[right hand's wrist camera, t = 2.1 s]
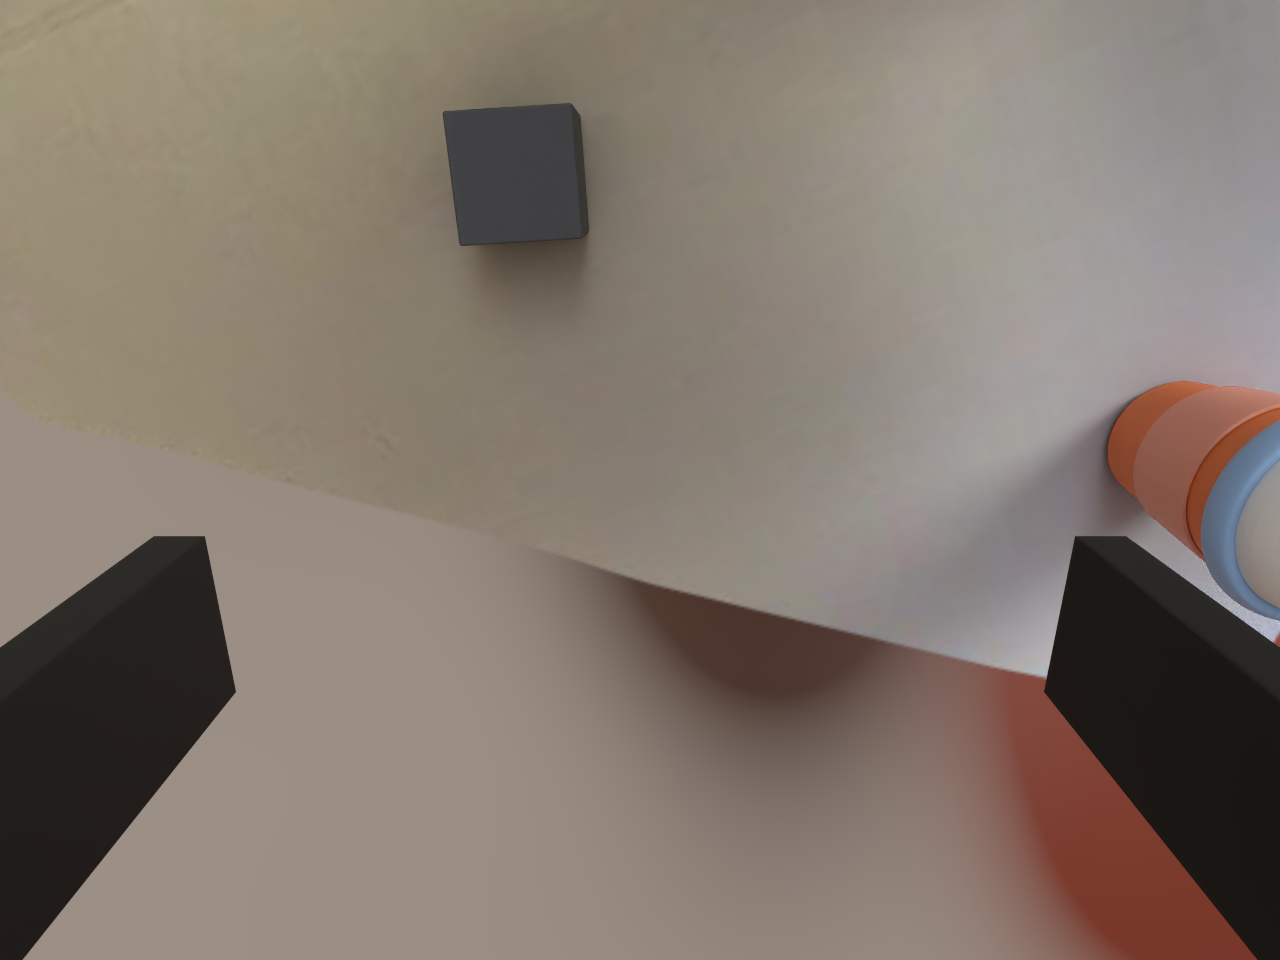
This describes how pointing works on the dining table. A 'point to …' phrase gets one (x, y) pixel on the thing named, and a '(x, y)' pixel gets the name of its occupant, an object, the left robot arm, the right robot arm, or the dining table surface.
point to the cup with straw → (1210, 479)
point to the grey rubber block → (517, 174)
